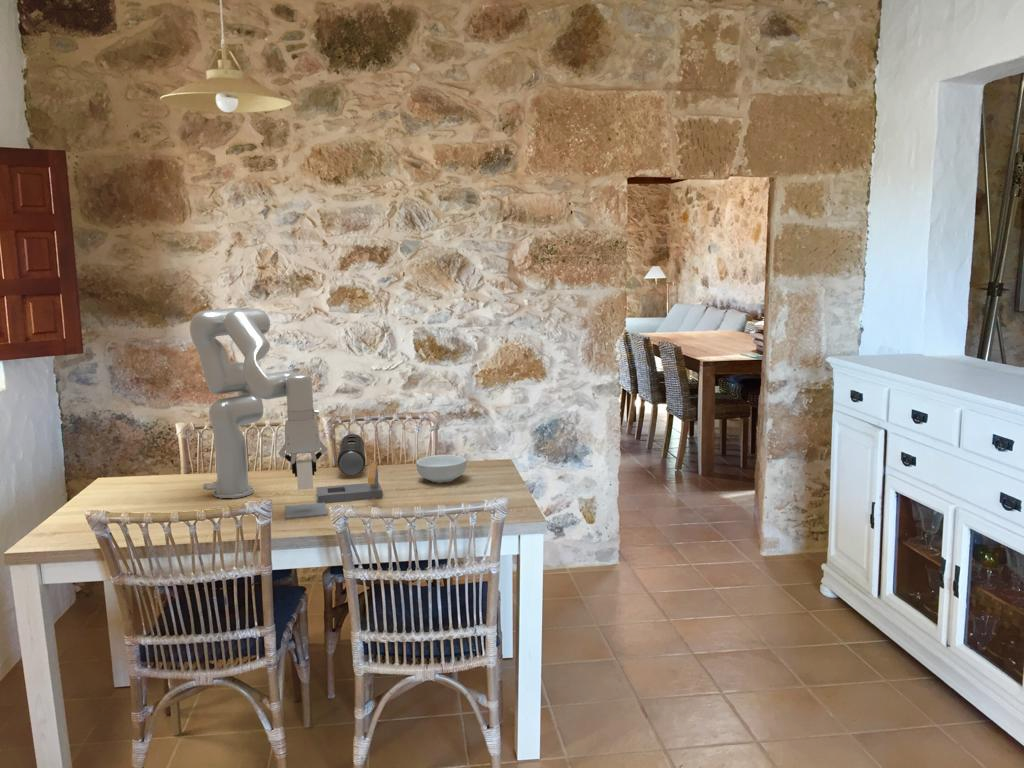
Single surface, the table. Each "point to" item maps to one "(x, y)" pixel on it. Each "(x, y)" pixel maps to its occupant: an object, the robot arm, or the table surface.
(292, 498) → the table surface
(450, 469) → the cereal bowl
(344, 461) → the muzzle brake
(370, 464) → the orange wooden bar
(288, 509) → the mat
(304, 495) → the table surface
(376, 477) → the socket block
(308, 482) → the plug
